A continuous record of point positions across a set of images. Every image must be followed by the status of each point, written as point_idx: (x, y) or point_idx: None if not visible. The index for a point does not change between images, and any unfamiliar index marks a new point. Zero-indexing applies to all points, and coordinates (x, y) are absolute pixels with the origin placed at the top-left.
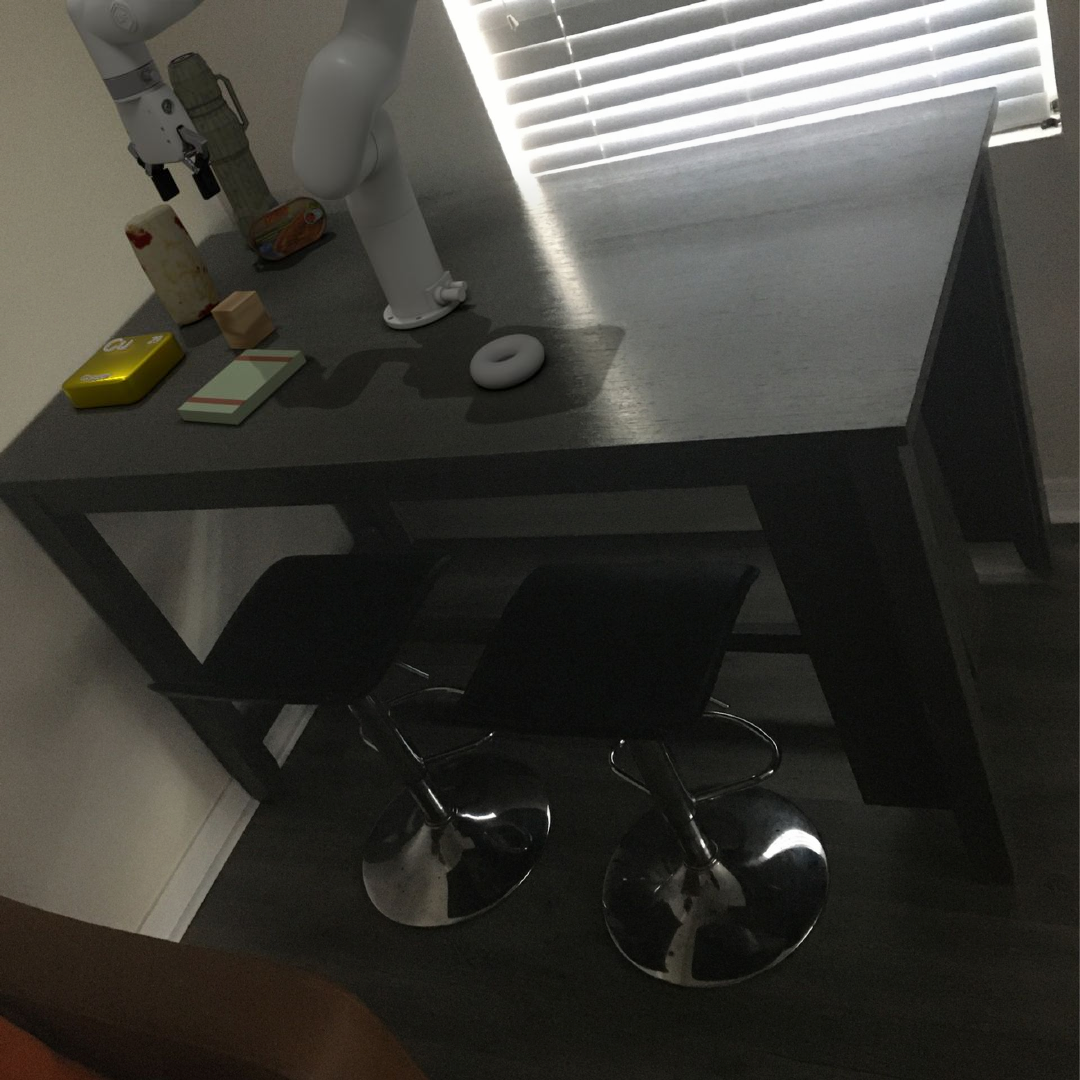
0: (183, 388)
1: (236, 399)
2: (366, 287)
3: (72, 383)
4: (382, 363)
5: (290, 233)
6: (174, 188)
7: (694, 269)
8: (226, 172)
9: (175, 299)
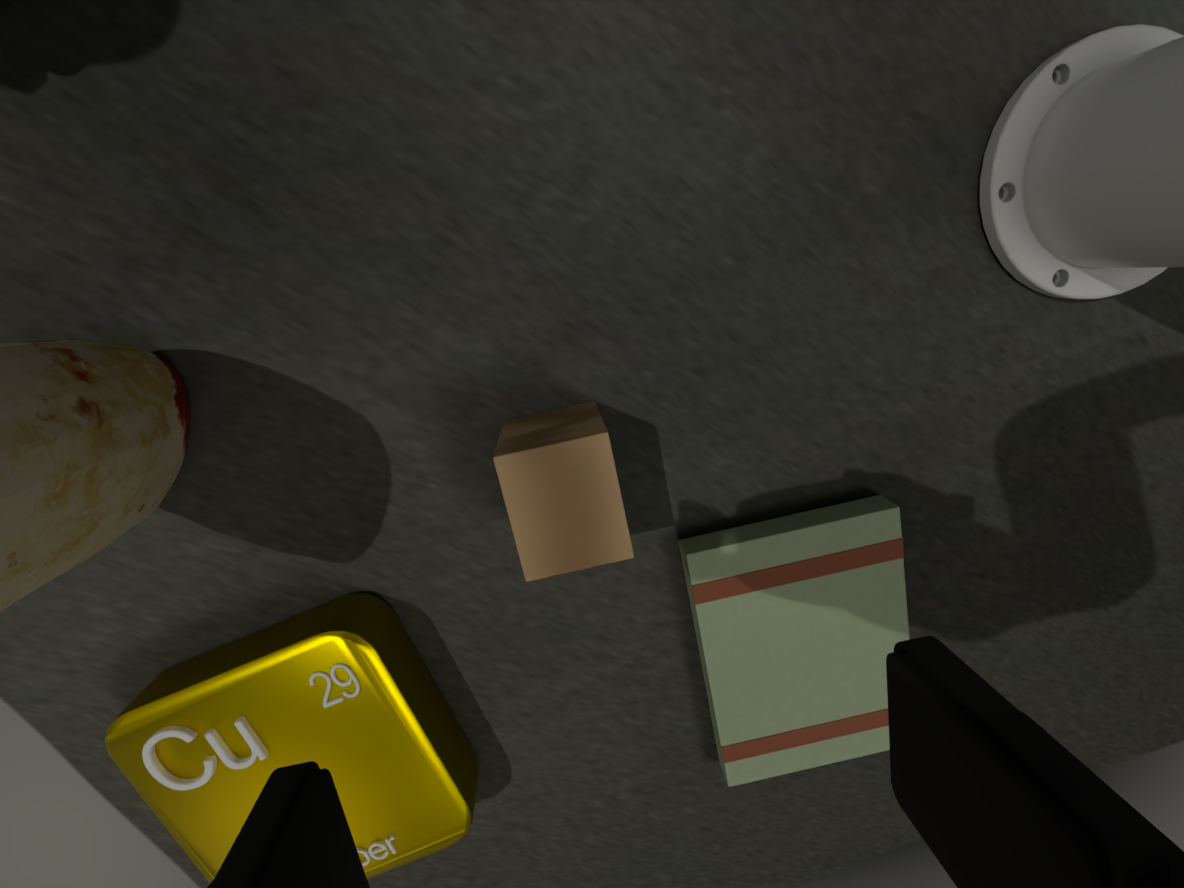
0: (567, 690)
1: (881, 708)
2: (747, 100)
3: None
4: (1132, 434)
5: None
6: (316, 846)
7: None
8: None
9: (126, 524)
